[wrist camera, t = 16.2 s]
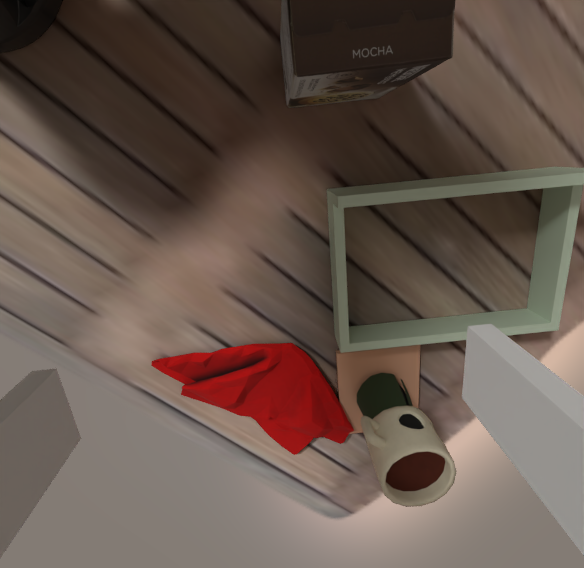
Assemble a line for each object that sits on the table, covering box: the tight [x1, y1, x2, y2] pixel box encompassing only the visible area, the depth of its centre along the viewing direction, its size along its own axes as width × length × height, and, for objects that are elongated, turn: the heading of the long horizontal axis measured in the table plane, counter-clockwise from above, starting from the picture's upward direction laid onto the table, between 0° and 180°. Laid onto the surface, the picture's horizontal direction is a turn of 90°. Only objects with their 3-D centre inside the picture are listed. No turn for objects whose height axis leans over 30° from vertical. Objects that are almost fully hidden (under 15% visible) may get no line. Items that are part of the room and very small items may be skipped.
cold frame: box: [327, 167, 584, 353], centre depth 38 cm, size 24×17×7 cm
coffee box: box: [280, 0, 455, 108], centre depth 27 cm, size 9×6×16 cm
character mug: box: [357, 373, 456, 507], centre depth 40 cm, size 11×7×13 cm, turn 55°
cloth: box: [152, 343, 354, 454], centre depth 44 cm, size 26×14×2 cm, turn 54°
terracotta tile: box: [336, 345, 420, 434], centre depth 46 cm, size 10×12×1 cm
